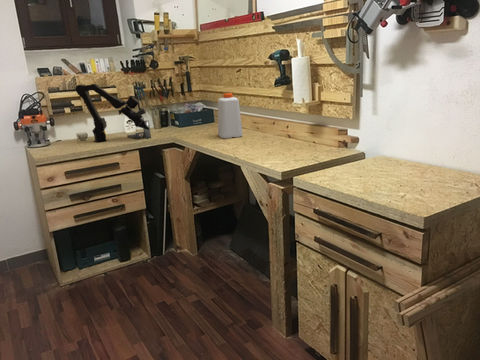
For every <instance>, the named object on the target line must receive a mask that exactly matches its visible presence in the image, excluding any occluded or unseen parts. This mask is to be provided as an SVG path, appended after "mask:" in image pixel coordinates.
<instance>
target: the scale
mask: <svg viewBox="0 0 480 360" xmlns="http://www.w3.org/2000/svg"><path fill="white" fill-rule="evenodd" d="M138 132H139V133H135V132H134V133H135V135H131V134H127V135H126V136H127V138H129V139H133V140H139V139H140V140H141V139H145V138H144V131H138Z"/></svg>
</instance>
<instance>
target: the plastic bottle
mask: <svg viewBox="0 0 480 360" xmlns="http://www.w3.org/2000/svg"><path fill="white" fill-rule="evenodd" d="M233 95H234V94H233V93H231V92H229V93H228V92H227V93H223V97H219V98H218V100H217V135H218V136H219V137H220V138H221V139H232V137H235V138H241V137H242V136H243V135H244V133H243V126H242V117H241V109H240V100H239V98H237V97H236V96H235V97H234V96H233Z"/></svg>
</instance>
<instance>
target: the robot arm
mask: <svg viewBox="0 0 480 360" xmlns="http://www.w3.org/2000/svg"><path fill="white" fill-rule="evenodd" d="M74 90H75V92H76V94H78V96H79V97H80V98H81V99H82V100H83V102H84V104H85V106H86V108H87V110H88V112H89V113H90V116H91V117H92V119H93V125H94V128H93V129H92V130H91V131H92V134H93V136H94V140H93V142H95V143H103V142H107V141H108V140H107V135H106V133H105V130H106V129H107V124H108V123H107V121H106V120H105V117H101V115H100V114H99V112H98V109H96V106H95V104H94V102H93V100H92V98H91V96H90V92H91V91H94V92H95V93H96V94H98V95H99V96H100V97H102V98H103V99H105V100H106V101H108V103H109V104H110V105H111V106H112V107H113V108H114V109H116V110H117V109H118V115H119V116H120V115H121V114H123V115H124V116H125V117H127V118H128V119H129V120H131V121H132V122H133V124H134V126H135V127H136V128H141V129H143V128H144V129H147V130H149V128H148V127H147V125H146V124H145V123H144V121H145V120H144V116H143V115H144V114H146V110H145V109H144V108H143V107H142V108H141V107H139V108H138V111H134V110H133V109H135V108H136V107H137V106H138V105H139V104H140V100H138V99H137V98H136V97H134V96H132V95H130V96H129V98H128V99H127V100H126V101H125V100H122V99H121V98H119V97H117V96H113V95H112V94H110V93H109V92H108V91H106V90H105V89H103V88H102V87H101V86H99V85H98V84H96V83H92V84H84V83H83V84H77V85H76V86H75V89H74Z"/></svg>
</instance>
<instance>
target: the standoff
mask: <svg viewBox="0 0 480 360" xmlns="http://www.w3.org/2000/svg"><path fill="white" fill-rule="evenodd" d="M144 123H145V124H146V125H147V127H148V128H149V130H147V129H144V128H142V129H143V132H144V138H143V139H145V140H149V138H150V139H152V135H151V133H152V132H151V125H150V120H148V119H147V120H144Z"/></svg>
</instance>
